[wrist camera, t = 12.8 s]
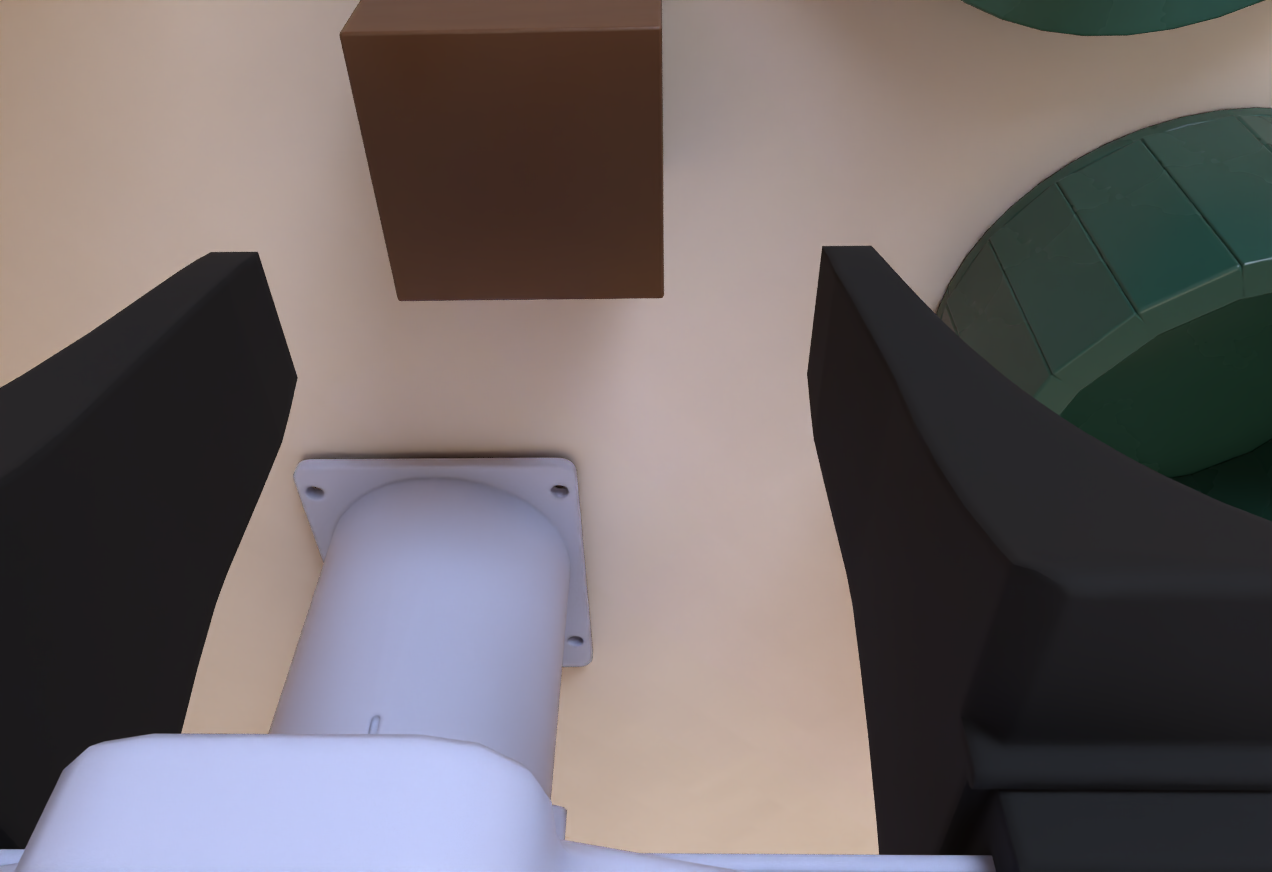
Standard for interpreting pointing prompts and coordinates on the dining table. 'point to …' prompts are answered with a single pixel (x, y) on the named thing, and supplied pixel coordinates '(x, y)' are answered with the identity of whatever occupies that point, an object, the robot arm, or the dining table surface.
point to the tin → (1143, 300)
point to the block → (513, 145)
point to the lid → (1108, 14)
